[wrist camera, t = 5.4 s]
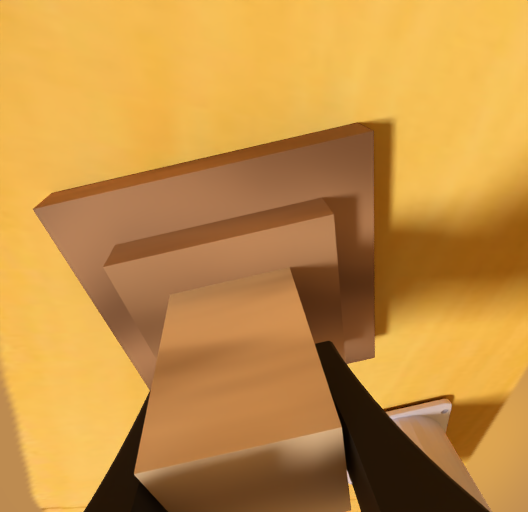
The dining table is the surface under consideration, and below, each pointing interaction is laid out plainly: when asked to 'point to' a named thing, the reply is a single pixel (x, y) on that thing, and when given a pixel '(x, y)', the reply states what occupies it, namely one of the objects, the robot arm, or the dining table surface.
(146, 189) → the walnut pedestal
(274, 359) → the oak block
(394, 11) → the dining table surface
